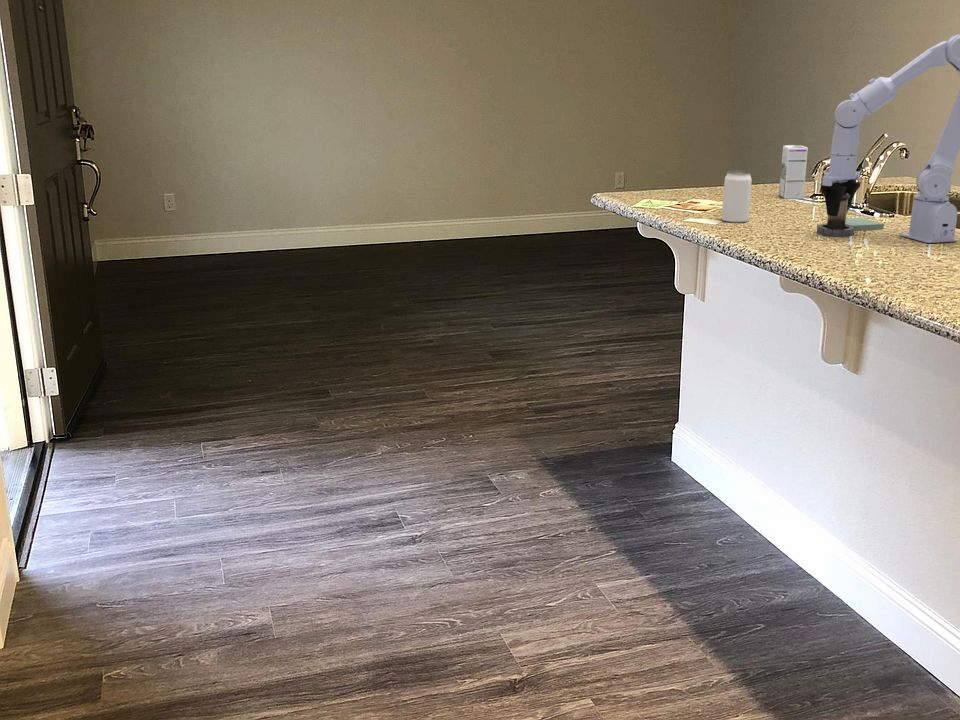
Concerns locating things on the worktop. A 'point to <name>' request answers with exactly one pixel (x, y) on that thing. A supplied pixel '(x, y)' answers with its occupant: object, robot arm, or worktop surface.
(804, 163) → the syrup box
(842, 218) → the hook peg
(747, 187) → the can
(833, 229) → the collar
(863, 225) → the pad
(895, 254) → the worktop surface
